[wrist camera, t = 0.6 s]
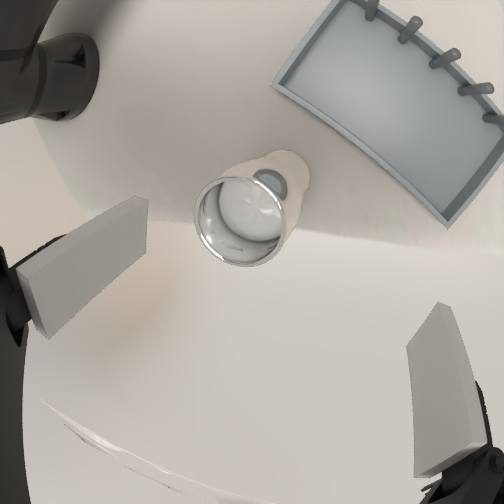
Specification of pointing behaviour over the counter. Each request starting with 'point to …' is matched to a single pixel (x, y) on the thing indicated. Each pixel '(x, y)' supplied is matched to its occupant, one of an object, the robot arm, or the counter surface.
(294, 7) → the counter surface
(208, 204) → the beer glass
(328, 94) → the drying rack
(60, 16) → the counter surface
